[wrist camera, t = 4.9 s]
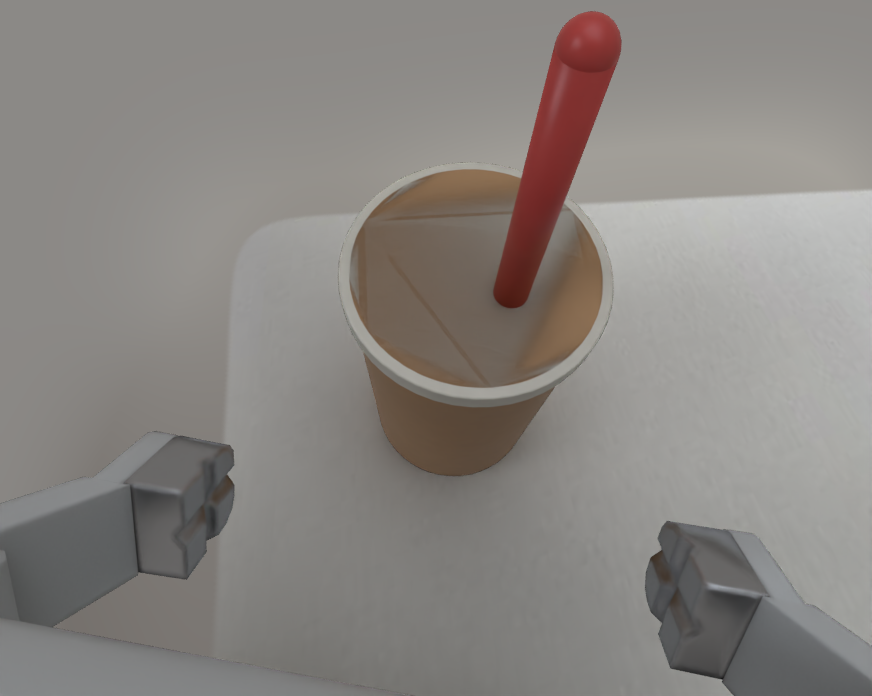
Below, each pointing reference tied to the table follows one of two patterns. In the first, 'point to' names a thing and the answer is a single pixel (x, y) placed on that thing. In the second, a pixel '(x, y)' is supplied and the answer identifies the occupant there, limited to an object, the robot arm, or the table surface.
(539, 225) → the paper cup
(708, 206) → the table surface
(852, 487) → the table surface
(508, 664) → the table surface
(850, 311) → the table surface
